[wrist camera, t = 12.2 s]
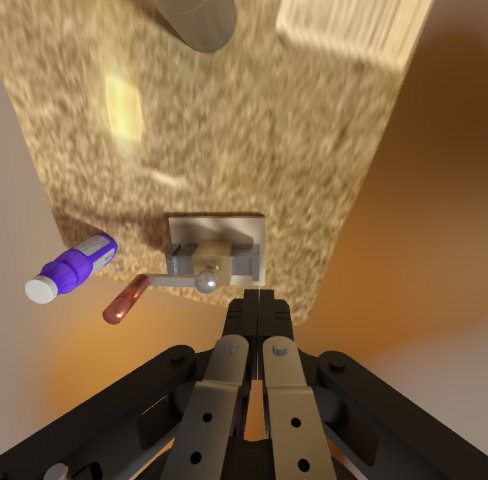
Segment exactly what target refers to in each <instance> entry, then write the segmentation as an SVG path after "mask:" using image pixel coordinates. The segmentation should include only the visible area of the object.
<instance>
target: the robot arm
mask: <svg viewBox="0 0 488 480" xmlns="http://www.w3.org/2000/svg"><path fill="white" fill-rule="evenodd" d="M150 1H151V2H152V3H153V5H154V6H155V7H156V8H157V9H158V10H159V12H160V13H161V14H162V15H163V16H164V18H165V19H166V20H167V21H168V22H169V24H170V25H171V26H172V27H173V28H174V30H175V31H176V32H177V33H178V35H179V36H180V37H181V38H182V39H183V40H184V41H185V43H186V44H187V45H188V46H190V47H191V48H192V49H194V50H196V51H198V52H203V53H210V52H214V51H217V50H219V49H220V48H222V47H223V46H224V45H225V44H226V43H227V42H228V41H229V39H230V38H231V36H232V34H233V31H234V28H235V23H236V8H235V3H234V0H150ZM257 356H258V357H257ZM257 358H258V380H263V411H264V426H265V439H264V440H259V441H254V442H250V441H247V440H244V434H245V427H246V420H247V413H248V406H249V399H250V390H251V382H252V380H257ZM163 397H164V398H163ZM162 398H163V399H162ZM160 399H162V400H161V401H159V400H160ZM158 401H159V402H158ZM157 402H158V403H157ZM156 403H157V404H156ZM154 404H155V405H154ZM153 405H154V406H153ZM152 406H153V407H152ZM150 407H151V408H150ZM149 408H150V409H149ZM148 409H149V410H148ZM146 410H148V411H146ZM145 411H146V412H145ZM144 412H145V413H144ZM143 413H144V414H143ZM324 433H325V434H326V435H327V436H328V438H329V439H330V440H331V441H332V442H333V443H334V444H335V445H336V446H337V447H338V448H339V449H340V450H341V451H342V452H343V453H344V455H346V457H347V458H348V459H349V460H350V461H351V462H352V463H353V464H354V465H355V466H356V467H357V468H358V469H359V470H360V472H361V473H362V474H363V475H364V476H365V477H366V478H367V479H368V480H488V456H487V455H486V454H484V453H483V452H481V451H480V450H479V449H477V448H476V447H474V446H473V445H472V444H470V443H469V442H468V441H466V440H465V439H463V438H462V437H461V436H459V435H458V434H456V433H455V432H454V431H452V430H451V429H449V428H448V427H447V426H445V425H444V424H442V423H441V422H440V421H438V420H437V419H435V418H434V417H433V416H431V415H430V414H428V413H427V412H426V411H424V410H423V409H422V408H420V407H419V406H417V405H416V404H415V403H413V402H412V401H410V400H409V399H408V398H406V397H405V396H403V395H402V394H401V393H399V392H398V391H396V390H395V389H393V388H392V387H391V386H390V385H388V384H387V383H385V382H384V381H383V380H381V379H380V378H378V377H377V376H376V375H374V374H373V373H371V372H370V371H368V370H367V369H366V368H364V367H363V366H362V365H360V364H359V363H357V362H356V361H355V360H353V359H352V358H350V357H349V356H348V355H346V354H344V353H341V352H338V351H326V352H324V353H322V354H321V355H320V356H319V358H318V357H315V356H311V355H308V354H306V353H304V352H302V351H301V350H300V349H299V348H298V347H297V346H296V344H295V343H294V337H293V330H292V323H291V316H290V309H289V305H288V304H287V303H286V301H285V300H282V299H274V290H268V289H260V296H259V289H245V290H244V298H243V299H233V301H232V302H231V303H230V304H229V307H228V312H227V316H226V320H225V325H224V329H223V334H222V338H220V339H219V340H218V341H217V342H216V344H215V347H214V348H212V349H210V350H208V351H204V352H200V353H195V351H194V350H193V348H191V347H189V346H187V345H176V346H173V347H170V348H168V349H167V350H165V351H164V352H162V353H160V354H159V355H157V356H156V357H154V358H153V359H151V360H149V361H148V362H146V363H145V364H143V365H142V366H140V367H138V368H137V369H136V370H134V371H132V372H131V373H129V374H127V375H126V376H124V377H123V378H121V379H120V380H118V381H116V382H115V383H113V384H112V385H110V386H109V387H107V388H105V389H104V390H102V391H101V392H99V393H97V394H96V395H94V396H93V397H91V398H90V399H88V400H86V401H85V402H83V403H82V404H80V405H79V406H77V407H75V408H74V409H72V410H71V411H69V412H68V413H66V414H64V415H63V416H61V417H60V418H58V419H57V420H55V421H54V422H52V423H50V424H49V425H47V426H46V427H44V428H42V429H41V430H39V431H38V432H36V433H35V434H33V435H31V436H30V437H28V438H27V439H25V440H24V441H22V442H21V443H19V444H17V445H16V446H14V447H13V448H11V449H9V450H8V451H6V452H5V453H3V454H1V455H0V480H129V479H130V478H131V477H132V476H133V475H134V474H135V473H136V472H137V471H139V470H140V468H142V467H143V466H144V465H145V464H146V463H147V462H148V461H149V460H151V459H152V458H153V457H154V456H155V455H156V454H157V453H158V452H159V451H160V450H161V449H162V448H164V447H165V446H166V445H167V444H168V443H169V442H170V441H171V440H172V439H174V438H175V440H174V442H173V445H172V447H171V448H170V449H168V450H167V451H165V452H163V454H161V455H160V456H158V457H157V458H156V459H155V460H154V461H153V462H152V463H151V464H150V465H149V466H148V467H147V468H146V469H145V470H143V471H142V472H141V473H140V474H139V475H138V476H137V477H136V479H134V480H358V479H357V478H356V477H355V476H354V475H353V474H352V473H351V472H350V471H349V470H348V469H347V468H346V467H345V466H344V465H343V464H342V463H340V462H339V461H338V460H337V459H335V458H334V457H332V456H330V452H329V449H328V445H327V441H326V438H325V434H324Z"/></svg>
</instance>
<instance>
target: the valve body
mask: <svg viewBox="0 0 488 480" xmlns="http://www.w3.org/2000/svg"><path fill="white" fill-rule="evenodd" d="M165 257H166V264H167V271H168V274H178V275H199V273H200V272H201V271H203V270H211V271H213V272H215V273H216V275H217V277H218V282H217V285H216V286H230V282H231V278H232V275H239V276H252V281H259V274H260V244H253V249H249V244H238V249H233V240H201V242H200V243H199V245H198V247H197V243H187V244H186V245H185V247H184V248H181V243H174V244H173V245H172V247H171V248H170V249H169V250H168V251H167V252H166V253H165Z"/></svg>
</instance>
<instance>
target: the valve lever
mask: <svg viewBox="0 0 488 480" xmlns="http://www.w3.org/2000/svg"><path fill="white" fill-rule="evenodd" d="M217 282H218V277H217V275H216V273H215V272H213V271H211V270H203V271H201V272H200V273H199V275H178V274H148V273H145V274H139V275H137V276H136V277H135V278H134V279H133V280H132V281H131V282H130V284H129V285H128V286H127V287H126V288H125V289H124V290H123V291H122V292H121V293H120V294H119V295H118V296H117V297H116V298H115V299H114V301H113V302H112V303H111V304H110V305H109V306H108V307H107V308H106V309H105V310H104V311H103V318H104V320H105V321H106V322H107V323H109V324H113V325H114V324H118V323H120V321H121V320H122V319H123V318H124V316H125V315H126V314H127V313H128V311H129V310H130V309H131V308H132V306H133V305H134V304H135V303H136V301H137V300H138V299H139V298H140V296H141V295H142V294H143V292H144V291H145V290H146V289H147V287H148V286H172V287H196V288H197V290H198V291H200V292H201V293H205V294H208V293H211V292H213V291H214V290H215V288H216V285H217Z"/></svg>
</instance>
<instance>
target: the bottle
mask: <svg viewBox="0 0 488 480" xmlns="http://www.w3.org/2000/svg"><path fill="white" fill-rule="evenodd" d="M117 247H118V246H117V244H116V242H115V241H114V240H113V239H111V238H110V237H109V236H107V235H105V234H102V233H100V234H96V235H94V236H92V237H90V238H89V239H87V240H85V241H84V242H82V243H80V244H78V245H76V246H75V247H73V248H71V249H69V250H67V251H65V252H64V253H62V254H61V255H60V256H59V257H57V258H56V259H55V260H54V261H52V262H49V263H47V264H46V265H45V266H44V267H43V268H42V271H41V273H40V274H39V275H37V276H36V277H34V278H33V279H31V280H29V281H28V282H27V283H26V285H25V292H26V294H27V296H28V297H29V298H30V299H31V300H33V301H34V302H37V303H47V302H49V301H51V300H52V299H54V298H55V297H56V296H57V295H59V294H66V293H68V292H71V291H72V290H73V289H75V287H77V286H79V285H81V284H82V283H83V282H84V281H85V280H86V279H88V278H89V277H90V276H91V275H93V274H94V273H96V272H97V271H98V270H99V269H101V268H102V267H103V266H105V265H106V264H108V263H109V262H110V261H111V260H112V258H113V257H114V256H115V254H116V252H117Z"/></svg>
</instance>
